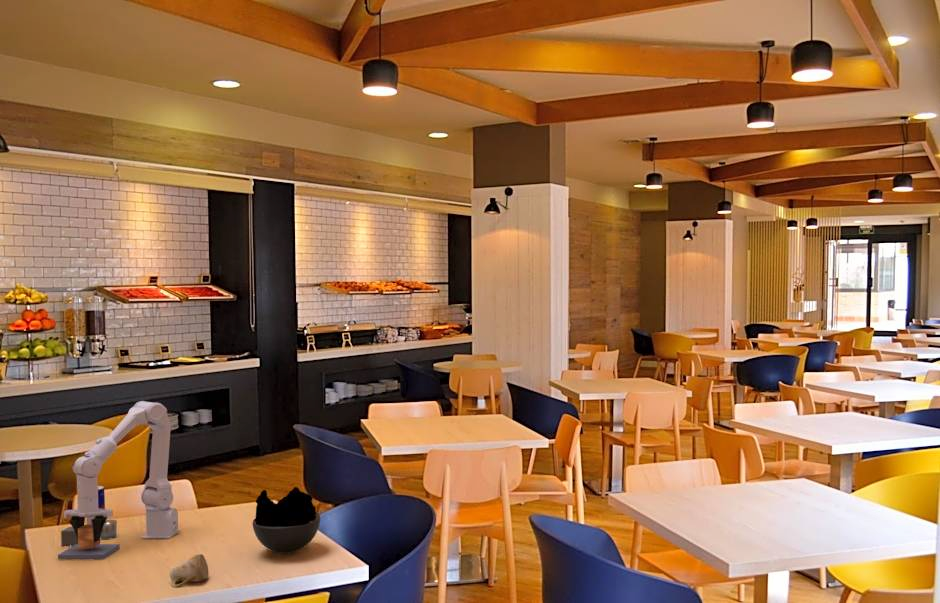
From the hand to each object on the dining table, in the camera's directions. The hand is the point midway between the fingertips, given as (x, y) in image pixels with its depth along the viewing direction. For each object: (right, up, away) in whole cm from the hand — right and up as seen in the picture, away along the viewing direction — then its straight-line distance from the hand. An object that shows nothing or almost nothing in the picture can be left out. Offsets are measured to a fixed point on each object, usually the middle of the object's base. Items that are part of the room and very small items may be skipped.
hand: (89, 540), depth 249 cm
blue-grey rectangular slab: (0, -4, 0) cm, 4 cm away
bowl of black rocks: (+61, -3, -2) cm, 61 cm away
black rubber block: (-10, -4, +11) cm, 15 cm away
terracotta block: (0, -2, 0) cm, 2 cm away
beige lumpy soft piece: (+39, -4, -26) cm, 47 cm away
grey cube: (-2, -4, +17) cm, 18 cm away
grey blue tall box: (-9, -4, +24) cm, 25 cm away
